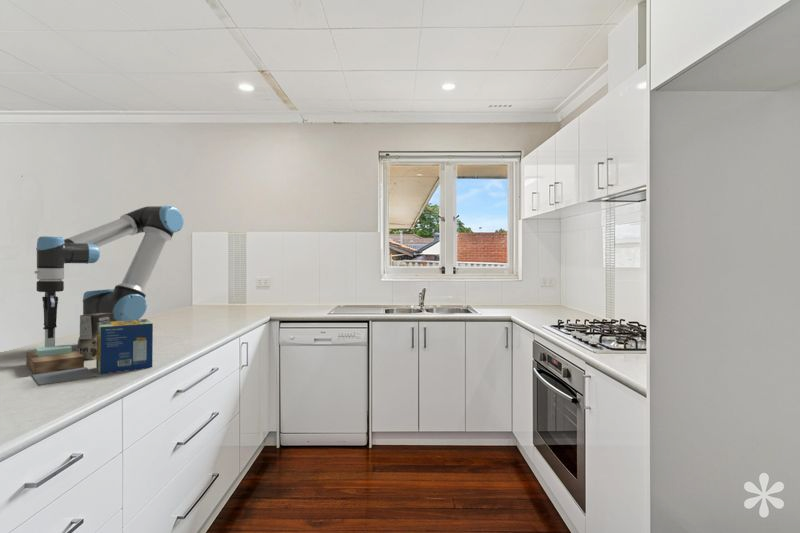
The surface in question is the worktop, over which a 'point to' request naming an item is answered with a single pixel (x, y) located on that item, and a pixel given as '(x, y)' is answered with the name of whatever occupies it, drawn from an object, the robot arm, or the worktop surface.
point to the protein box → (124, 345)
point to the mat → (63, 376)
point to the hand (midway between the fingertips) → (49, 346)
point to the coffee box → (91, 332)
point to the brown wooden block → (54, 362)
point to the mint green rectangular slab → (53, 350)
